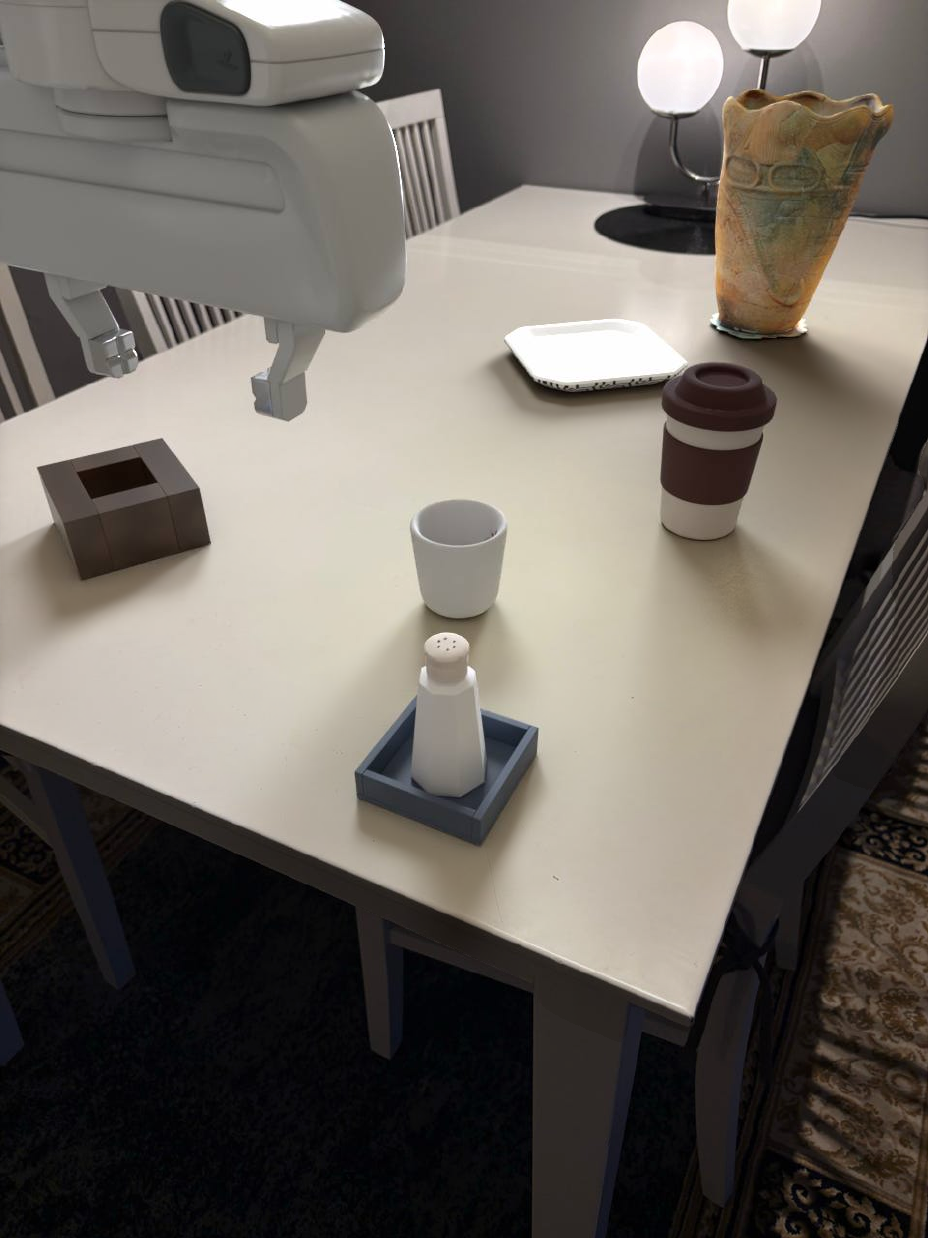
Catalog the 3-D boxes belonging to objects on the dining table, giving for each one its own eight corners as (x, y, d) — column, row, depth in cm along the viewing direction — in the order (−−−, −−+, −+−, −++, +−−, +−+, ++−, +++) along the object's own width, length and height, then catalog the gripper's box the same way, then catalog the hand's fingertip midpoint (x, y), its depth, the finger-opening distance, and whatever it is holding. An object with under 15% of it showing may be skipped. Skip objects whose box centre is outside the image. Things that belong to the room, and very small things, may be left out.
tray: (356, 797, 61) (353, 771, 59) (422, 713, 67) (421, 688, 66) (480, 847, 58) (480, 820, 56) (537, 753, 64) (538, 727, 63)
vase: (869, 341, 128) (935, 97, 110) (744, 358, 123) (792, 105, 105) (782, 295, 144) (827, 76, 126) (668, 309, 139) (698, 83, 121)
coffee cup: (676, 487, 95) (698, 346, 86) (766, 518, 90) (799, 372, 80) (626, 526, 88) (644, 378, 79) (720, 561, 83) (750, 408, 74)
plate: (696, 386, 115) (699, 370, 114) (540, 403, 112) (541, 385, 110) (635, 331, 131) (637, 316, 130) (497, 343, 128) (497, 328, 126)
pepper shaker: (394, 782, 61) (385, 656, 55) (433, 732, 65) (429, 608, 58) (465, 811, 59) (465, 683, 53) (502, 757, 63) (505, 632, 56)
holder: (81, 580, 81) (62, 522, 78) (54, 521, 90) (36, 466, 86) (211, 543, 86) (199, 487, 83) (174, 490, 95) (162, 437, 91)
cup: (408, 561, 84) (404, 484, 79) (494, 555, 84) (495, 478, 80) (416, 632, 75) (412, 551, 70) (511, 625, 76) (514, 544, 71)
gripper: (-144, 10, 34) (-29, 372, 42) (319, 43, 26) (347, 472, 35) (-3, 3, 38) (75, 331, 46) (425, 30, 31) (427, 412, 39)
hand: (195, 392), depth 40 cm, fingers open, 8 cm apart
